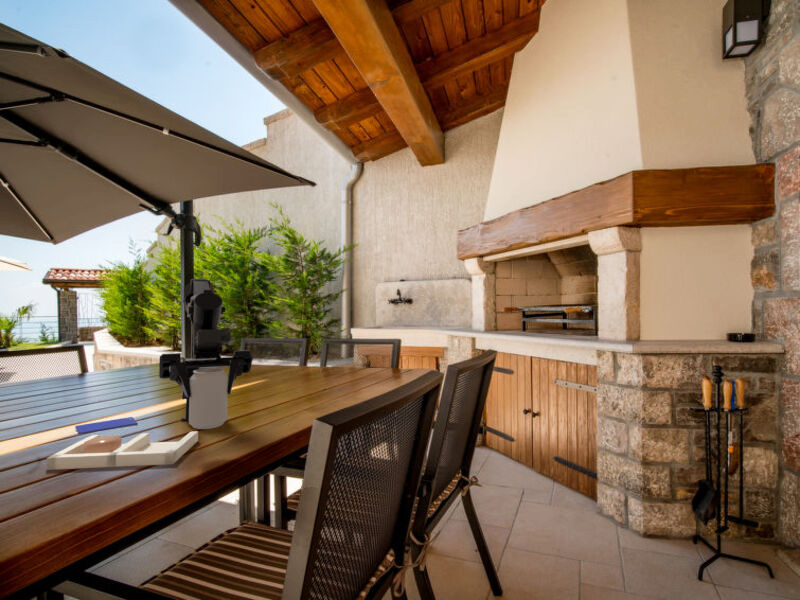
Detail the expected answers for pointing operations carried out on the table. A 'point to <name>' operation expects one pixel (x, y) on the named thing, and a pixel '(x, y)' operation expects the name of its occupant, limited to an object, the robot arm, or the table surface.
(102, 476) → the table surface
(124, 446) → the divider tray
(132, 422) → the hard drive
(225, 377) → the can
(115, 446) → the terracotta dish
